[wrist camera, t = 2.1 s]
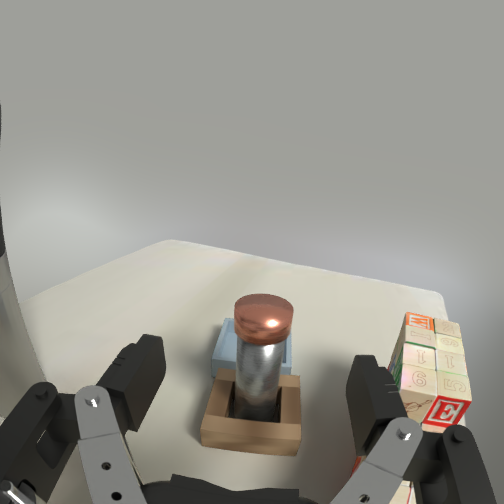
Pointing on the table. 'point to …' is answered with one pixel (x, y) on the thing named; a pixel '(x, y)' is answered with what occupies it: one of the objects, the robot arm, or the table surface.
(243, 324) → the pin
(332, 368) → the table surface
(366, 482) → the robot arm
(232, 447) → the socket block
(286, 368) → the tray
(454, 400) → the stack of blocks
